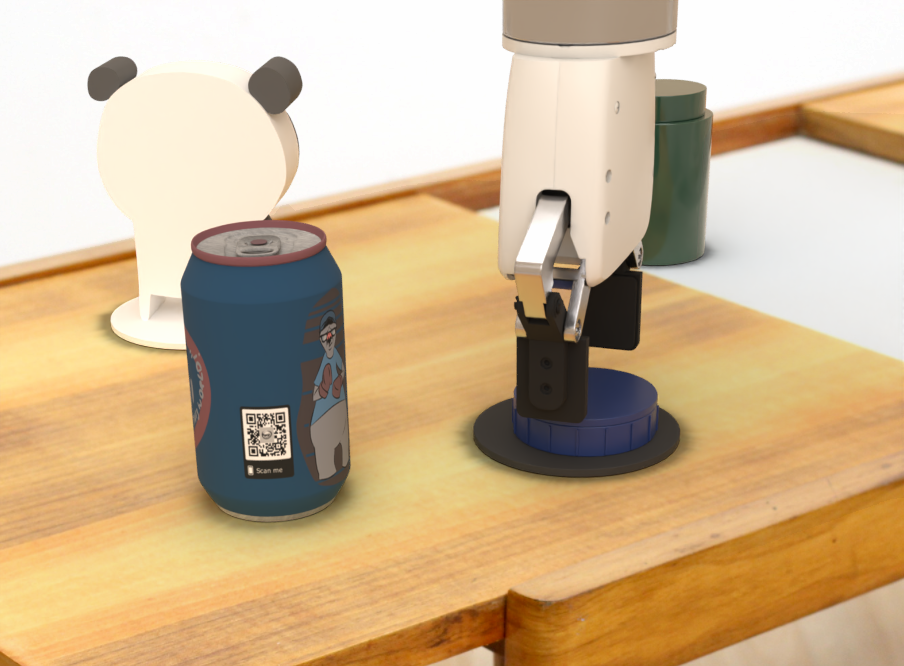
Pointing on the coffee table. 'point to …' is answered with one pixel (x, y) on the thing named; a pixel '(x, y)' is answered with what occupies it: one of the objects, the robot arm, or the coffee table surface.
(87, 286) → the coffee table surface
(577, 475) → the coaster
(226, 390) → the soda can
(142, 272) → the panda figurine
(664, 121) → the jar
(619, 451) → the jar lid
